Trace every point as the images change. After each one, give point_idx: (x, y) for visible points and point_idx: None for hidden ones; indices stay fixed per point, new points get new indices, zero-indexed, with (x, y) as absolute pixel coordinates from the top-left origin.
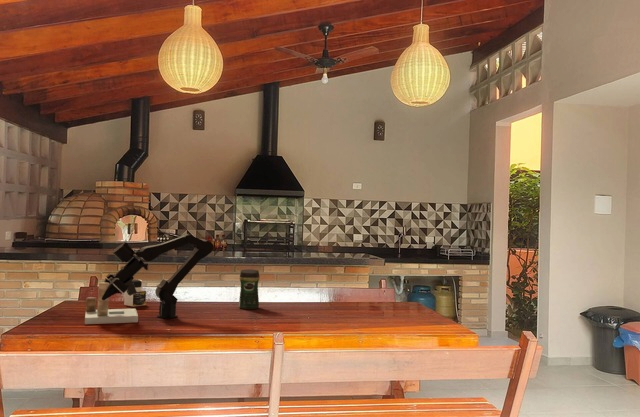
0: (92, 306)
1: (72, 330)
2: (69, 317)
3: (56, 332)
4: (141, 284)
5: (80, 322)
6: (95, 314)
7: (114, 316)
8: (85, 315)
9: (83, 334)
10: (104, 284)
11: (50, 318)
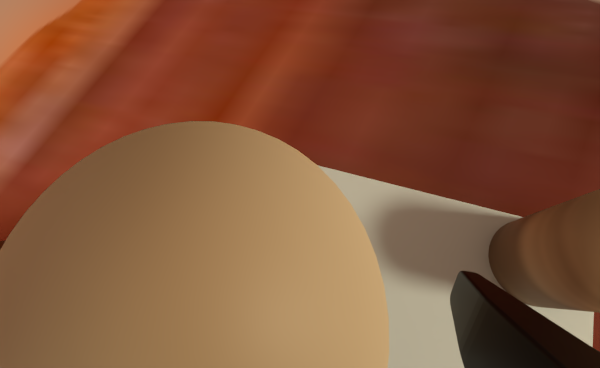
0: (515, 257)
1: (157, 83)
2: (533, 137)
3: (161, 23)
4: None
5: (336, 159)
6: None
7: None
8: (348, 174)
9: (46, 107)
10: (14, 267)
11: (532, 43)
